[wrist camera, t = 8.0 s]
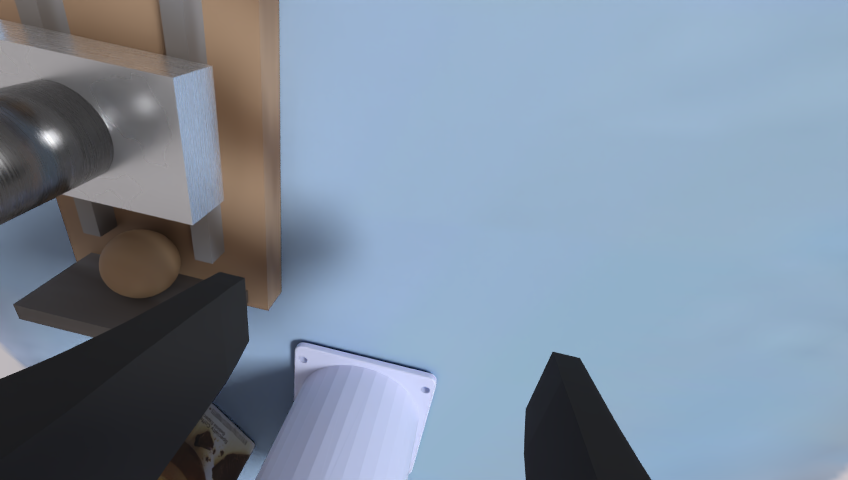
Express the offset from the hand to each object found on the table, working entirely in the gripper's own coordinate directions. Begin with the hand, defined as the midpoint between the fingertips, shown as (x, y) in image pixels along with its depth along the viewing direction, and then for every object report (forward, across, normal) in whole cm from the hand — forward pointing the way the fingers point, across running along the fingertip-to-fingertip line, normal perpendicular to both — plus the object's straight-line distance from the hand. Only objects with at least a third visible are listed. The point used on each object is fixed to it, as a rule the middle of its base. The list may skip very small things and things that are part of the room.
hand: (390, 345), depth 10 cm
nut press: (+9, +12, -2) cm, 15 cm away
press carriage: (+7, +12, -1) cm, 14 cm away
